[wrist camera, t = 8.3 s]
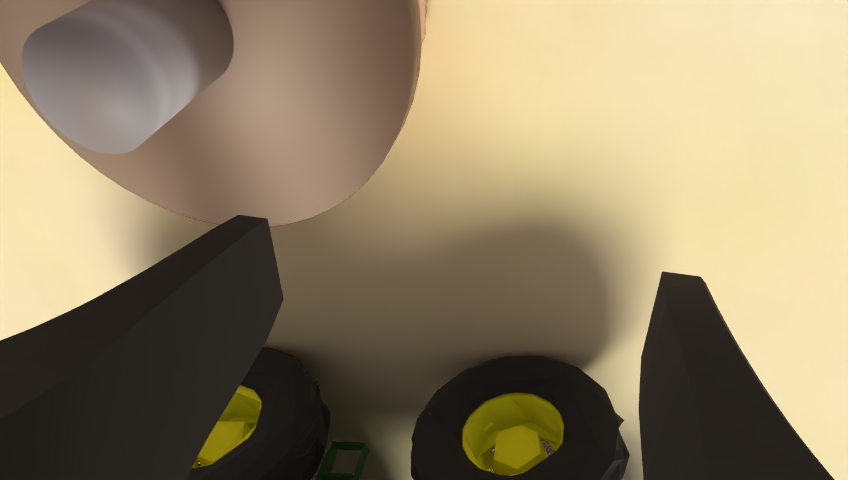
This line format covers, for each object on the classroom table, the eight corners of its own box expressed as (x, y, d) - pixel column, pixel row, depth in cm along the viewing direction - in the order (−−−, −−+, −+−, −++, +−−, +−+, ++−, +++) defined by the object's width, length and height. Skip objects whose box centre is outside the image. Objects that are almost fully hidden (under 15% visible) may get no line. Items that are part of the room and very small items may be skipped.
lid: (382, -317, 12) (285, -331, 9) (444, 220, 19) (403, 329, 16) (-114, -234, 15) (-330, -220, 12) (92, 204, 22) (-8, 293, 18)
